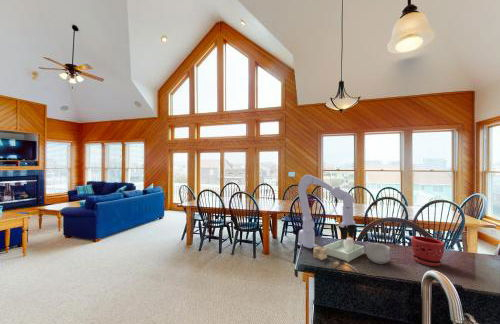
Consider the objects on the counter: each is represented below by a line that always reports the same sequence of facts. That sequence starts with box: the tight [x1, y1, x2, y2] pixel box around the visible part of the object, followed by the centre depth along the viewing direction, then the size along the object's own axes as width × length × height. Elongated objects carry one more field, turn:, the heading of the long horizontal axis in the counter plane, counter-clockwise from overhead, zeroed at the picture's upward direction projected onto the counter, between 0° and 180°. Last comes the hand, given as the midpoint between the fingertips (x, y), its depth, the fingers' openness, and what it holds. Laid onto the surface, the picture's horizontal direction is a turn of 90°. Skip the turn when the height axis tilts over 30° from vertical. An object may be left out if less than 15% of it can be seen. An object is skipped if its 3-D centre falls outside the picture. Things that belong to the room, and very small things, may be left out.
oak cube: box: [312, 245, 328, 261], centre depth 116 cm, size 5×5×5 cm
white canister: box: [343, 236, 354, 252], centre depth 126 cm, size 5×5×7 cm
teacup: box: [365, 242, 391, 265], centre depth 114 cm, size 14×11×8 cm
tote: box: [322, 239, 365, 263], centre depth 123 cm, size 14×19×4 cm
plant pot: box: [410, 235, 445, 267], centre depth 112 cm, size 13×13×12 cm
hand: (347, 238), depth 126 cm, fingers open, 7 cm apart
